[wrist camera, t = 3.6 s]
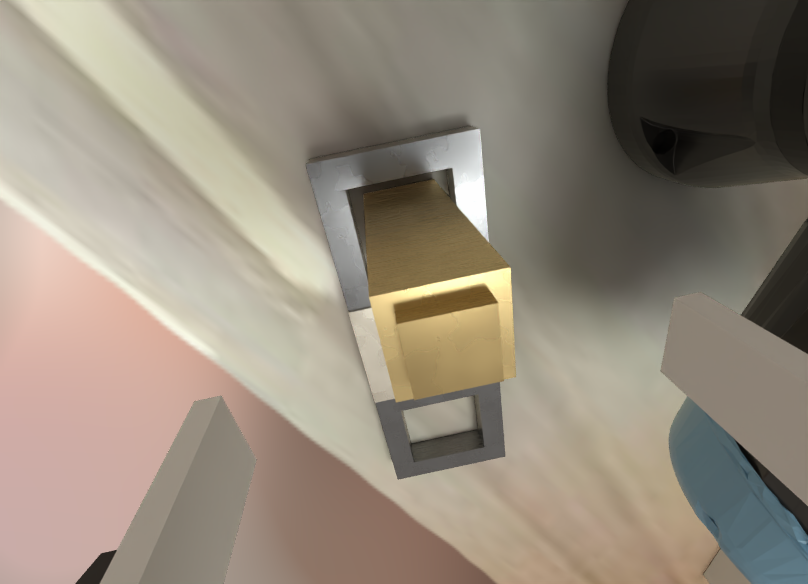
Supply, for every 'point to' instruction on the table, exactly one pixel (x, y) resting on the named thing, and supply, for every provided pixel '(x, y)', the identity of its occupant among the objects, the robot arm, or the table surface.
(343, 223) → the grey peg hole board
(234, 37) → the table surface
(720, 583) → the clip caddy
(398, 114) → the table surface
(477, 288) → the brass peg
